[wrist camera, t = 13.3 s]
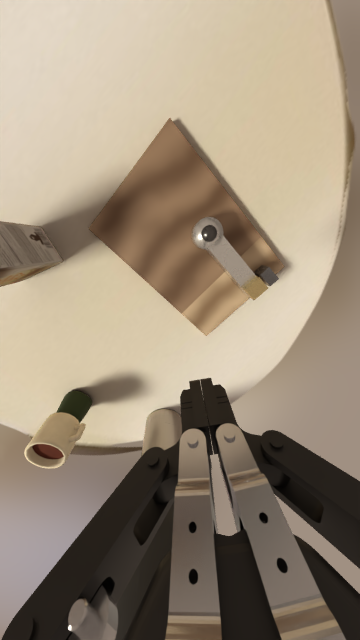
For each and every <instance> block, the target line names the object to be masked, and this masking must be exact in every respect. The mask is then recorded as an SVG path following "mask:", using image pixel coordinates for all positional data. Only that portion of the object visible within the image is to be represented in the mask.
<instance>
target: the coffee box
mask: <svg viewBox="0 0 360 640" xmlns="http://www.w3.org/2000/svg"><path fill="white" fill-rule="evenodd" d="M61 262H63V260H62V258H61V257H60V255H59V254H58V252H57V251H56V249H55V247H54V246H53V244H52V243H51V241H50V240H49V238H48V237H47V235H46V234H45V232H44V231H43V229H42V228H41V227H39V226H31V225H24V224H16V223H9V222H1V221H0V287H1V286H5V285H8V284H13V283H16V282H20V281H23V280H25V279H27V278H29V277H31V276H33V275H36V274H38V273H40V272H42V271H44V270H46V269H48V268H51V267H53V266H55V265H57V264H59V263H61Z"/></svg>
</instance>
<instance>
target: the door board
mask: <svg viewBox="0 0 360 640" xmlns="http://www.w3.org/2000/svg"><path fill="white" fill-rule="evenodd" d="M205 217H213V218H216V219H217V220H218V221H219V222H220V223H221V225H222V227H223V236H224V237H225V238H226V240H227V241H228V242H229V243H230V244H231V246H232V247H233V248H234V249H235V251H236V252H237V253H238V254H239V255H240V257H241V258H242V259H243V260H244V262H245V263H246V264H247V265H248V266H249V268H250V269H251V270H252V271H253V273H254V272H255V271H256V270H257V269H258V268H259V267H260V266H261V265H264V266H268V267H270V268H271V270H272V271H273V272H274V273H275V275H276V274H277V273H278V272H279V271H280V270H281V269H282V268H284V265H283V264H282V263H281V261H280V260H279V259H278V258H277V256H276V255H275V254H274V252H273V251H272V250H271V248H270V247H269V246H268V245H267V243H266V242H265V241H264V239H263V238H262V237H261V235H260V234H259V233H258V232H257V230H256V229H255V228H254V226H253V225H252V224H251V223H250V221H249V220H248V219H247V217H246V216H245V215H244V213H243V212H242V211H241V210H240V208H239V207H238V206H237V204H236V203H235V202H234V200H233V199H232V198H231V197H230V195H229V194H228V193H227V191H226V190H225V189H224V187H223V186H222V185H221V184H220V182H219V181H218V180H217V178H216V177H215V176H214V175H213V173H212V172H211V171H210V169H209V168H208V167H207V165H206V164H205V163H204V162H203V160H202V159H201V158H200V156H199V155H198V154H197V152H196V151H195V150H194V149H193V147H192V146H191V145H190V143H189V142H188V141H187V140H186V138H185V137H184V136H183V134H182V133H181V132H180V130H179V129H178V128H177V127H176V125H175V124H174V123H173V121H172V120H171V119H170V118H169V119H168V121H167V122H166V124H165V125H164V126H163V128H162V129H161V130H160V132H159V133H158V134H157V136H156V137H155V139H154V140H153V141H152V143H151V144H150V145H149V147H148V148H147V149H146V151H145V152H144V154H143V155H142V156H141V158H140V159H139V160H138V162H137V163H136V165H135V166H134V167H133V169H132V170H131V171H130V173H129V174H128V175H127V177H126V178H125V180H124V181H123V182H122V184H121V185H120V186H119V188H118V189H117V190H116V192H115V193H114V195H113V196H112V197H111V199H110V200H109V201H108V203H107V204H106V205H105V207H104V208H103V210H102V211H101V212H100V214H99V215H98V216H97V218H96V219H95V220H94V222H93V223H92V225H91V226H90V227H89V230H90V231H92V232H93V233H94V234H95V235H96V236H97V237H98V238H99V239H100V240H101V241H103V242H104V243H105V244H106V245H107V246H108V247H109V248H110V249H111V250H112V251H113V252H115V253H116V254H117V255H118V256H119V257H120V258H121V259H122V260H123V261H124V262H126V263H127V264H128V265H129V266H130V267H131V268H132V269H133V270H134V271H135V272H137V273H138V274H139V275H140V276H141V277H142V278H143V279H144V280H145V281H146V282H148V283H149V284H150V285H151V286H152V287H153V288H154V289H155V290H156V291H157V292H158V293H160V294H161V295H162V296H163V297H164V298H165V299H166V300H167V301H168V302H169V303H171V304H172V305H173V306H174V307H175V308H176V309H177V310H178V311H179V312H180V313H182V314H183V315H184V316H185V317H186V318H187V319H188V320H189V321H190V322H191V323H193V324H194V325H195V326H196V327H197V328H198V329H199V330H200V331H201V332H202V333H204V334H205V335H206V336H207V335H208V334H209V333H210V332H211V331H212V330H214V329H215V328H216V327H217V326H218V325H219V324H220V323H221V322H223V321H224V320H225V319H226V318H227V317H228V316H229V315H230V314H232V313H233V312H234V311H235V310H236V309H237V308H238V307H239V306H241V305H242V304H243V303H244V302H245V301H246V300H247V299H249V298H250V297H249V296H247V295H246V294H245V293H243V291H242V290H241V289H240V288H239V287H238V286H237V285H236V283H235V282H234V281H233V280H232V279H231V278H230V277H229V275H228V274H227V273H226V272H225V271H224V270H223V269H222V267H221V266H220V265H219V264H218V263H217V262H216V261H215V259H214V258H213V257H212V256H211V255H210V254H209V253H208V251H207V250H205V249H201V248H198V247H197V246H196V245H195V244H194V243H193V241H192V237H191V234H192V229H193V227H194V225H195V224H196V223H197V222H199V221H200V220H201V219H203V218H205ZM254 274H255V273H254Z"/></svg>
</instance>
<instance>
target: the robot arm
mask: <svg viewBox="0 0 360 640" xmlns="http://www.w3.org/2000/svg"><path fill="white" fill-rule="evenodd" d="M200 380H201V385H200ZM200 380H194V381H189V383H190V389H188V390H183V391H182V394H181V396H180V401H181V416H180V415H179V414H178V413H177V412H175V411H173V410H169V409H160V410H157V411H154V412H153V413H151V414H150V415H149V416H148V418H147V421H146V428H145V434H144V441H143V447H142V454H141V458H140V459H139V460H138V462H137V463H136V464H135V465H134V467H133V468H132V469H131V470H130V472H129V473H128V474H127V475H126V477H125V478H124V479H123V480H122V482H121V483H120V485H119V486H118V487H117V488H116V489H115V491H114V492H113V493H112V494H111V496H110V497H109V498H108V499H107V501H106V502H105V503H104V504H103V506H102V507H101V508H100V509H99V511H98V512H97V513H96V514H95V516H94V517H93V518H92V520H91V521H90V522H89V523H88V525H87V526H86V527H85V528H84V530H83V531H82V532H81V534H80V535H79V536H78V537H77V539H76V540H75V541H74V542H73V543H72V545H71V546H70V547H69V548H68V550H67V551H66V552H65V554H64V555H63V556H62V557H61V559H60V560H59V561H58V562H57V564H56V565H55V566H54V568H53V569H52V570H51V571H50V572H49V574H48V575H47V576H46V577H45V579H44V580H43V581H42V583H41V584H40V585H39V586H38V588H37V589H36V590H35V591H34V593H33V594H32V595H31V596H30V598H29V599H28V600H27V601H26V603H25V604H24V605H23V606H22V608H21V609H20V610H19V611H18V613H17V614H16V615H15V617H14V618H13V620H12V621H11V623H10V624H9V626H8V628H7V630H6V631H5V634H4V635H3V638H2V640H360V594H359V593H358V592H357V591H356V590H355V589H354V588H353V587H352V586H351V585H350V584H349V583H348V582H347V581H346V580H345V579H344V578H343V577H342V576H341V575H340V574H339V573H338V572H337V571H336V570H335V569H334V568H333V567H332V566H331V565H330V564H329V563H328V562H327V561H326V560H325V559H324V558H323V557H322V556H321V555H320V554H319V553H318V552H317V551H316V550H315V549H313V548H312V547H311V546H310V545H309V544H307V543H306V542H305V541H303V540H302V539H301V538H299V537H297V536H295V535H294V534H293V533H292V531H291V529H290V527H289V525H288V523H287V520H286V518H285V516H284V514H283V512H282V510H281V508H280V505H279V503H278V501H277V499H276V497H275V495H276V496H277V497H279V498H280V499H281V500H282V501H283V502H284V503H286V504H287V505H288V506H289V507H290V508H291V509H292V510H293V511H294V512H296V513H297V514H298V515H299V516H300V517H301V518H303V519H304V520H305V521H306V522H307V523H308V524H309V525H310V526H312V527H313V528H314V529H315V530H316V531H317V532H318V533H320V534H321V535H322V536H323V537H324V538H325V539H326V540H328V541H329V542H330V543H331V544H332V545H333V546H334V547H336V548H337V549H338V550H339V551H340V552H341V553H342V554H344V555H345V556H346V557H347V558H348V559H349V560H350V561H352V562H353V563H354V564H355V565H356V566H357V567H358V568H360V481H358V480H357V479H355V478H353V477H352V476H350V475H349V474H347V473H345V472H344V471H342V470H341V469H339V468H337V467H336V466H334V465H333V464H331V463H329V462H328V461H326V460H324V459H323V458H321V457H320V456H318V455H316V454H315V453H313V452H311V451H310V450H308V449H307V448H305V447H303V446H302V445H300V444H299V443H297V442H295V441H294V440H292V439H290V438H289V437H287V436H286V435H284V434H282V433H281V432H278V431H274V430H269V431H266V432H265V433H263V435H262V436H259V435H253V434H249V433H247V432H245V431H243V430H242V429H241V428H240V427H239V426H238V424H237V422H236V420H235V417H234V414H233V411H232V408H231V405H230V403H229V400H228V397H227V394H226V391H225V389H224V388H223V387H222V386H221V385H220V384H219V385H213V384H212V381H211V378H206V379H200ZM201 387H202V390H201ZM202 393H203V395H202ZM203 399H204V400H203ZM207 420H208V421H207ZM208 425H209V426H208ZM209 430H210V432H209ZM210 435H211V438H210ZM211 441H212V445H211ZM212 446H213V450H214V454H218V457H219V462H220V468H221V472H222V476H223V479H224V483H225V487H226V490H227V494H228V497H229V501H230V504H231V508H232V512H233V516H234V520H235V525H236V529H237V533H236V534H234V535H232V536H225V535H221V534H218V529H217V522H216V513H215V503H214V493H213V483H212V475H211V474H212V473H211V468H212V467H211V459H210V455H213V451H212ZM274 494H275V495H274Z"/></svg>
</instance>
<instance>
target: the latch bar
mask: <svg viewBox="0 0 360 640" xmlns="http://www.w3.org/2000/svg"><path fill="white" fill-rule="evenodd" d="M191 237H192V241H193V243H194V244H195V245H196V246H197V247H198V248H201V249H205V250H207V251H208V253H209V254H210V255H211V256H212V257H213V258H214V259H215V261H216V262H217V263H218V264H219V265H220V266H221V267H222V269H223V270H224V271H225V272H226V273H227V274H228V275H229V277H230V278H231V279H232V280H233V281H234V282H235V283H236V285H237V286H238V287H239V288H240V289H241V290H242V291H243V293H245V294H246V295H247V296H249V297H250V298H252V299H253V300H255V299H256V298H257V297H259V296H260V295H261V294H262V293H263V292H264V291H266V290H267V289H268V287H267V286H266V285H265V283H264V282H263V281H262V280H261V279H260V277H257V276H256V275H255V274H254V273H253V271H252V270H251V269H250V268H249V266H248V265H247V264H246V263H245V262H244V260H243V259H242V258H241V257H240V255H239V254H238V253H237V252H236V251H235V249H234V248H233V247H232V246H231V244H230V243H229V242H228V241H227V240H226V238H225V237H224V236H223V227H222V225H221V223H220V222H219V221H218V220H217V219H216V218H213V217H205V218H203V219H201V220H200V221H199V222H197V223H196V224H195V225H194V227H193V229H192V234H191Z"/></svg>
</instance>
